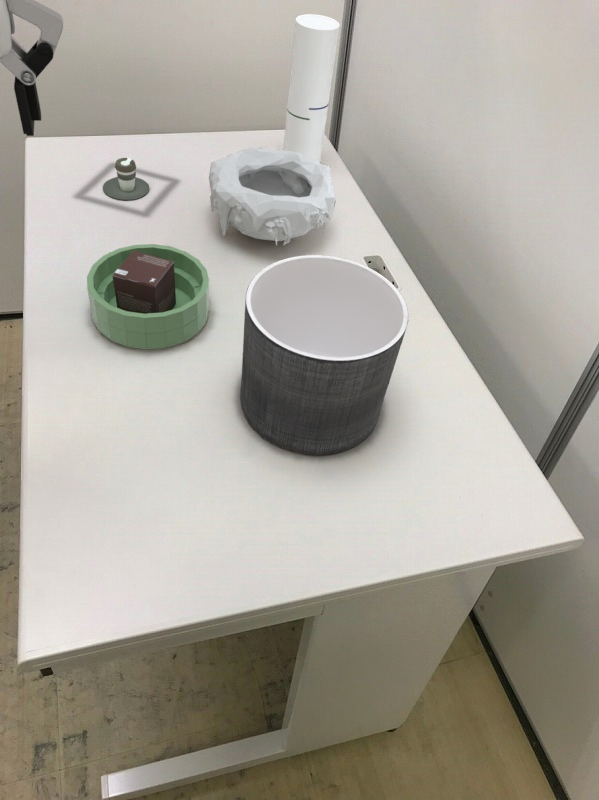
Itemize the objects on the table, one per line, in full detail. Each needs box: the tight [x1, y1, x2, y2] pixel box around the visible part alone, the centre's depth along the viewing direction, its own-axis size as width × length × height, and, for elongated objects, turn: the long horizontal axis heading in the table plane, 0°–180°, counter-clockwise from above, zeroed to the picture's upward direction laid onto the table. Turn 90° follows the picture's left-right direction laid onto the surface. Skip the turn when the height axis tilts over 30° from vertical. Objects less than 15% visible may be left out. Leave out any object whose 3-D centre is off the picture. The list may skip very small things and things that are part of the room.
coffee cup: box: [102, 157, 150, 201], centre depth 108 cm, size 12×12×5 cm
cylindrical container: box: [282, 13, 341, 164], centre depth 112 cm, size 7×7×25 cm
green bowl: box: [86, 243, 210, 350], centre depth 87 cm, size 16×16×6 cm
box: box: [112, 251, 176, 314], centre depth 85 cm, size 6×6×7 cm
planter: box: [239, 254, 409, 456], centre depth 75 cm, size 18×18×16 cm
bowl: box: [208, 146, 337, 246], centre depth 103 cm, size 21×20×10 cm
